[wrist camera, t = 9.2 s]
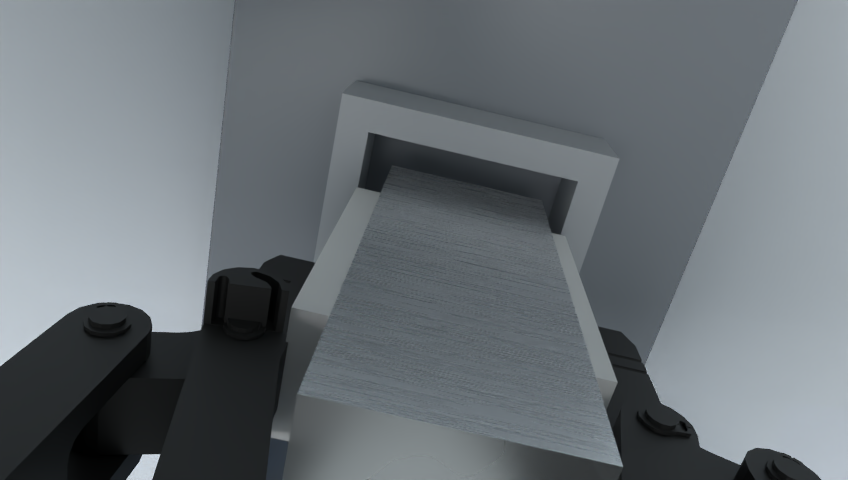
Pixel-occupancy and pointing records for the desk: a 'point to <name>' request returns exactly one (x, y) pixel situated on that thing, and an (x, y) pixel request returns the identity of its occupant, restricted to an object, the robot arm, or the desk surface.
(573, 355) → the steel block
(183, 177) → the desk surface
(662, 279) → the housing base
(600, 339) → the robot arm
